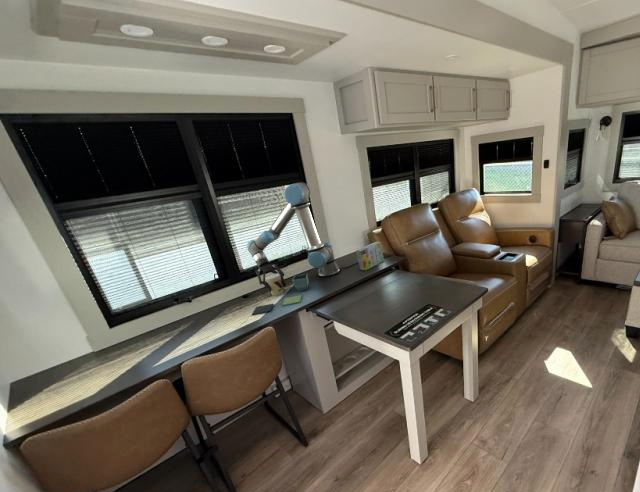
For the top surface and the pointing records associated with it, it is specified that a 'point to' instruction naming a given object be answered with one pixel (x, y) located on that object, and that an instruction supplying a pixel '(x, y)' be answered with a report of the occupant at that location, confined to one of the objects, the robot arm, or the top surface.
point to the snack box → (370, 256)
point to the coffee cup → (275, 284)
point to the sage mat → (292, 300)
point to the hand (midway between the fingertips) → (277, 288)
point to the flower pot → (301, 282)
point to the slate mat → (262, 309)
